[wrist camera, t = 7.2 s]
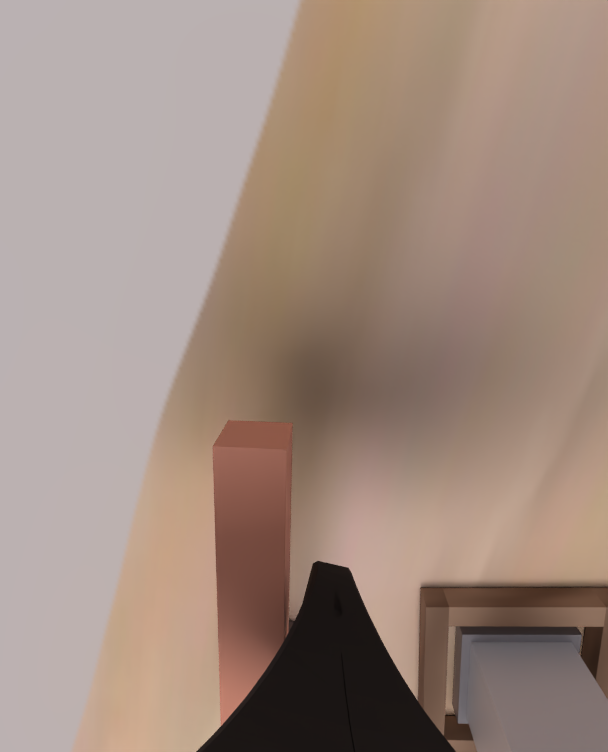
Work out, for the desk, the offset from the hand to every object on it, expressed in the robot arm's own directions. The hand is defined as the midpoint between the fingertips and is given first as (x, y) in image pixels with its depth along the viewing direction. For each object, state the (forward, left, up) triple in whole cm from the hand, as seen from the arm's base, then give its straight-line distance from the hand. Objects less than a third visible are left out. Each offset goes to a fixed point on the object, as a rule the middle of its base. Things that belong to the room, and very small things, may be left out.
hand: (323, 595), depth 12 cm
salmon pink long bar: (+2, +4, 0) cm, 4 cm away
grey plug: (-8, +11, -8) cm, 16 cm away
